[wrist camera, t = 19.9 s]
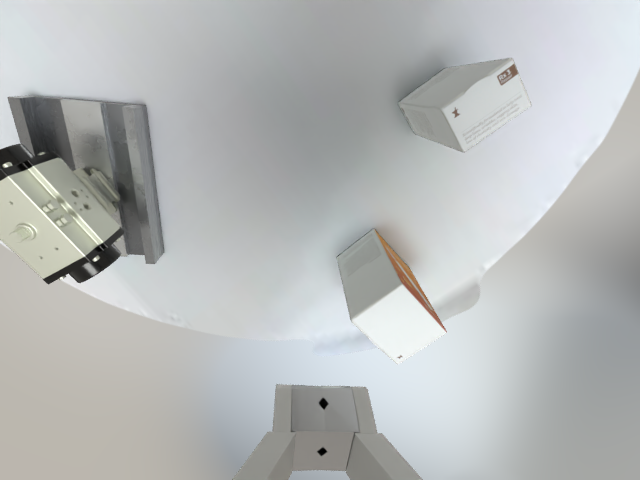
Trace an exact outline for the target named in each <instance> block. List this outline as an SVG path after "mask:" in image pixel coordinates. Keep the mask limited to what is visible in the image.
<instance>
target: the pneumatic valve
mask: <svg viewBox="0 0 640 480" xmlns="http://www.w3.org/2000/svg"><path fill="white" fill-rule="evenodd" d="M90 172H91V175H90V176H89V175H88V174H87V173H86V172H85V170H84V169H83V168H79V169H76V170H74V171H72V170H71V169H70V168H69V167H68V166H67V164H66V163H65V162H64V161H63V160H62V159H61V158H60V156H59V155H58V154H57V153H56V152H53V151H52V152H49V153H46V154H45V152H41V153H39V154H38V156H36V157H34V155H33V154H32V153H31V152H30V151H29V150H28V149H27V148H26V147H25V145H23V144H16V145H12V146H9V147H6V148H3V149H0V240H1V241H2V242H3V243H5V244H6V245H7V246H8V247H9V248H10V249H11V250H12V251H13V252H14V253H15V254H16V255H17V256H18V257H20V258H21V259H22V260H23V261H24V262H25V263H26V264H27V265H28V266H29V267H30V268H31V269H32V270H33V271H34V272H36V273H37V274H38V275H39V276H40V277H41V278H42V279H43V280H44V281H45V282H46V283H47V284H50V283H52V282H53V281H55V280H57V279H59V280H62V279H63V278H65V277H66V274H69V275H70V276H71V277H72V278H74V279H75V280H76V281H77V282H78V283H81V282H84V281H86V280H88V279H90V278H92V277H93V276H95V275H97V274H98V273H100V272H101V271H103V270H104V269H106V268H107V267H108V266H110V265H111V264H112V263H113V262H114V261H116V260H117V259H118V258H119V257H120V255H121V252H120V251H119V250H118V248H117V247H116V246H115V245H114V244H113V243H114V242H118V241H119V240H120V239H121V238H120V237H121V236H122V235H123V234H124V230H123V229H122V228H121V227H120V226H119V224H118V223H117V222H116V221H115V220H114V219H113V217H112V216H111V215H112V214H113V213H115V212H116V211H118V210H117V208H116V207H115V206H114V205H113V203H112V201H115V202H118V201H119V200H121V199H120V195H119V194H118V192H117V191H116V190H115V189H114V187H113V186H112V185H111V184H110V183H109V181H108V180H107V179H106V178H105V177H104V175H103V174H102V173H101V172H100V171H97V170H96V169H93V168H92V169H91V170H90Z"/></svg>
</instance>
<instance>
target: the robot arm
mask: <svg viewBox="0 0 640 480" xmlns="http://www.w3.org/2000/svg"><path fill="white" fill-rule="evenodd" d="M301 470H332V471H333V470H334V471H346V473H347V475H348V476H349V478H350V480H423V479H421V477H420V476H419V475H418V474H417V473H416V471H415V470H414V469H413V468H412V467H411V466H410V465H409V463H408V462H407V461H406V460H405V459H404V458H403V457H402V456H401V455H400V453H399V452H398V451H397V450H396V449H395V448H394V447H393V445H392V444H391V443H390V442H389V441H388V440H387V439H386V437H385V436H384V435H383V434H382V433H377V430H376V424H375V420H374V416H373V411H372V407H371V402H370V398H369V393H368V389H367V388H366V387H350V386H305V385H282V384H277V385H276V391H275V404H274V419H273V432H267V434H266V435H265V436H264V438H263V439H262V440H261V442H260V443H259V444H258V446H257V447H256V449H255V450H254V451H253V453H252V454H251V455H250V457H249V458H248V459H247V461H246V462H245V463H244V465H243V466H242V467H241V469H240V470H239V471H238V473H237V474H236V475H235V477H234V478H233V479H232V480H288V479H289V477H290V475H291V473H292V471H301Z"/></svg>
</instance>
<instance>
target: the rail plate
mask: <svg viewBox="0 0 640 480" xmlns="http://www.w3.org/2000/svg"><path fill="white" fill-rule="evenodd" d="M8 101H9V104H10V108H11V111H12V115H13V118H14V122H15V125H16V129H17V132H18V136H19V139H20V143H21V144H23V145H25V147H26V148H27V149H28V150H29V151H30V152H31V153H32V154H33V155H34V157H36V156H38V154H39V153H41V152H45V154H46V153H49V152H52V151H53V152H56V153H57V154H58V155H59V156H60V158H61V159H62V160H63V161H64V162H65V163H66V164H67V166H68V167H69V168H70V169H71V170H72V171H74V170H76V169H79V168H83V169H84V170H85V172H86V173H87V174H88V175H89V176H90V175H91V172H90V170H91V169H92V168H93V169H96V170H97V171H100V172H101V173H102V174H103V175H104V177H105V178H106V179H107V180H108V181H109V183H110V184H111V185H112V186H113V187H114V189H115V190H116V191H117V192H118V194H119V195H120V199H121V200H119V201H118V202H115V201H112V203H113V205H114V206H115V207H116V208H117V210H118V211H116V212H115V213H113V214H112V215H111V216H112V217H113V219H114V220H115V221H116V222H117V223H118V224H119V226H120V227H121V228H122V229H123V230H124V234H123V235H122V236H121V237H120V238H121V239H120V240H119V241H118V242H114V243H113V244H114V245H115V246H116V247H117V248H118V250H119V251H120V252H121V255H120V256H124V257H127V256H128V255H129V254H134V255H145V260H146V264H155V263H156V262H157V261H158V259H159V258H160V257H161V255H162V254H163V253H164V247H163V239H162V231H161V223H160V215H159V207H158V199H157V191H156V182H155V174H154V166H153V158H152V150H151V142H150V134H149V126H148V118H147V110H146V105H136V104H124V103H113V102H101V101H90V100H78V99H67V98H55V97H44V96H32V95H29V96H14V97H8Z"/></svg>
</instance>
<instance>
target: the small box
mask: <svg viewBox="0 0 640 480" xmlns="http://www.w3.org/2000/svg"><path fill="white" fill-rule="evenodd" d="M337 261H338V266H339V270H340V275H341V279H342V284H343V288H344V293H345V297H346V302H347V306H348V311H349V315H350V320H351V322H352V323H353V324H354V325H355V326H356V327H357V328H358V329H359V330H360V331H361V332H362V333H364V334H365V335H366V336H367V337H368V338H369V339H370V340H371V341H372V343H373V344H374V345H376V346H377V347H378V348H379V349H380V350H382V351H383V352H384V353H385V354H386V355H387V356H388V357H390V358H391V359H392V360H393V361H394V362H395V363H396V364H399V363H401V362H403V361H404V360H406V359H407V358H409V357H411V356H412V355H414V354H415V353H417V352H419V351H420V350H422V349H423V348H425V347H426V346H428V345H429V344H431V343H432V342H434V341H435V340H437V339H438V338H440V337H441V336H443V335H444V334H446V333H447V331H446V330H445V328H444V326H443V325H442V323H441V321H440V319H439V318H438V316H437V314H436V313H435V311H434V309H433V308H432V306H431V304H430V302H429V301H428V299H427V297H426V296H425V294H424V292H423V291H422V289H421V287H420V286H419V284H418V282H417V280H416V278H415V277H414V275H413V273H412V272H411V270H410V268H409V267H408V266H407V265H406V264H405V263H404V262H403V261H402V260H401V259H400V258H399V256H398V255H397V254H396V253H395V252H394V251H393V250H392V249H391V248H390V246H389V245H388V244H387V243H386V242H385V241H384V239H383V238H382V237H381V236H380V235H379V234H378V233H377V231H376V230H375V229H372V230H371V231H370V232H368V233H367V234H366V235H365V236H363V237H362V238H361V239H359V240H358V241H357V242H356V243H354V244H353V245H352V246H350V247H349V248H348V249H347V250H345V251H344V252H343V253H342V254H340V255H339V256H338V257H337Z"/></svg>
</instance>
